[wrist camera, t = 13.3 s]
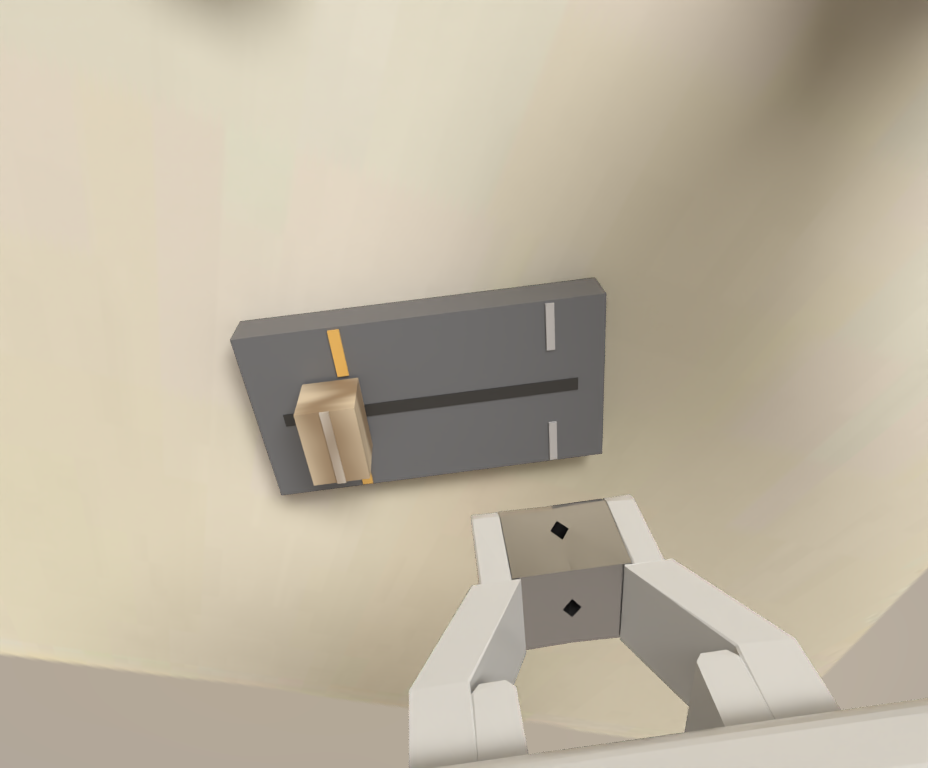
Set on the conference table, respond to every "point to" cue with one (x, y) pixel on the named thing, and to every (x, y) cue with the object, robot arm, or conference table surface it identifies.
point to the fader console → (439, 379)
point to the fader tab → (334, 431)
